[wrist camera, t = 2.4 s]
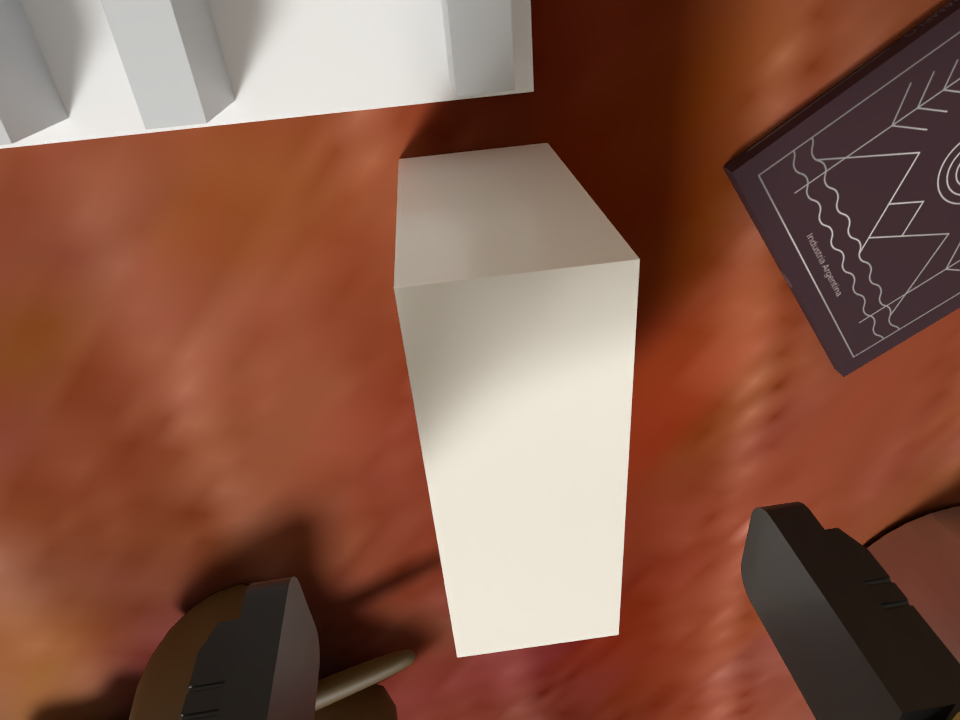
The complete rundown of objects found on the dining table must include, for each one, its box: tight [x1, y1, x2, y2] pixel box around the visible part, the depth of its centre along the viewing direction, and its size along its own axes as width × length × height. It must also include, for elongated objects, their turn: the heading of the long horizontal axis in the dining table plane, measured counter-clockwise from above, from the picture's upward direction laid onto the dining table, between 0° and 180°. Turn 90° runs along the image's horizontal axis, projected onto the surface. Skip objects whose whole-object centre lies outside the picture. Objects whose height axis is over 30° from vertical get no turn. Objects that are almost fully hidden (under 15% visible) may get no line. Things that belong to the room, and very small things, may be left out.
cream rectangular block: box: [394, 143, 640, 657], centre depth 16 cm, size 4×10×8 cm, turn 5°
